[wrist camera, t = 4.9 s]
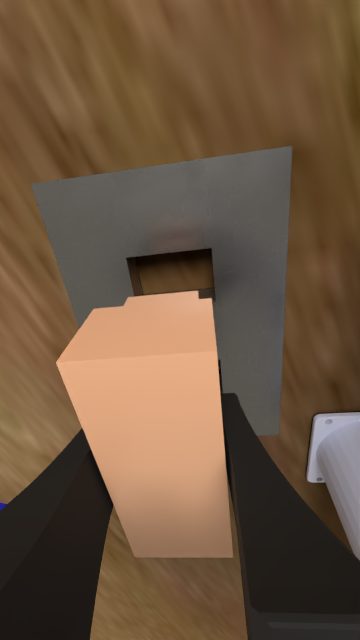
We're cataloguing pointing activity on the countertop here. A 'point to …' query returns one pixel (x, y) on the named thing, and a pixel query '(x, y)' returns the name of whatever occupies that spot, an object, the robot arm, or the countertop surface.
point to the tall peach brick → (155, 421)
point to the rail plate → (184, 235)
